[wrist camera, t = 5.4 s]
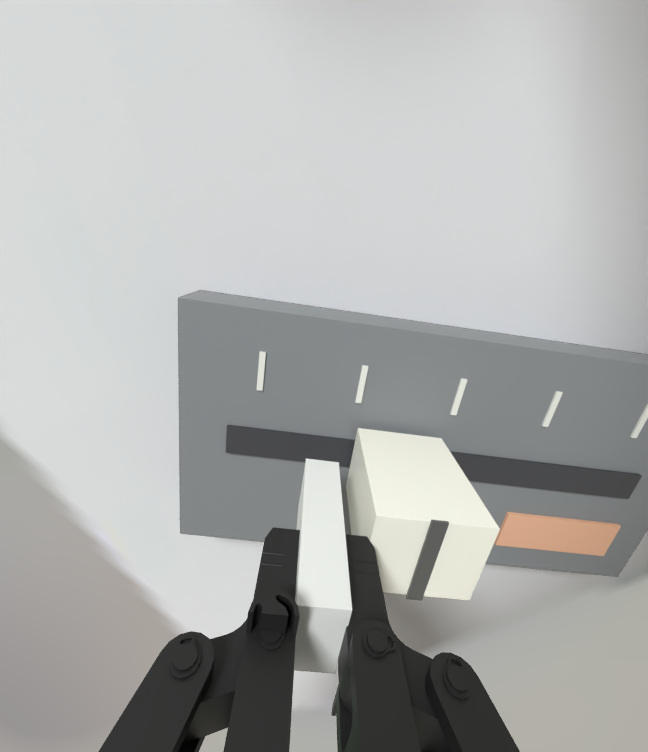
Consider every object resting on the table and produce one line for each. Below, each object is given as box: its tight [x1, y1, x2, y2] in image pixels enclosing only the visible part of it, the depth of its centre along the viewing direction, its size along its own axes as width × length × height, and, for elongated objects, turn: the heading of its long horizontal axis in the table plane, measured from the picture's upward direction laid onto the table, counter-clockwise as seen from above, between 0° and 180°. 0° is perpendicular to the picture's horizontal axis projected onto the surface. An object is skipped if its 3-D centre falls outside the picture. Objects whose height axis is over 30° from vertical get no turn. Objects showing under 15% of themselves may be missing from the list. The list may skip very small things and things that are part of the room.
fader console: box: [178, 290, 648, 577], centre depth 20 cm, size 14×28×3 cm, turn 82°
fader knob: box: [346, 428, 500, 600], centre depth 15 cm, size 4×4×6 cm
